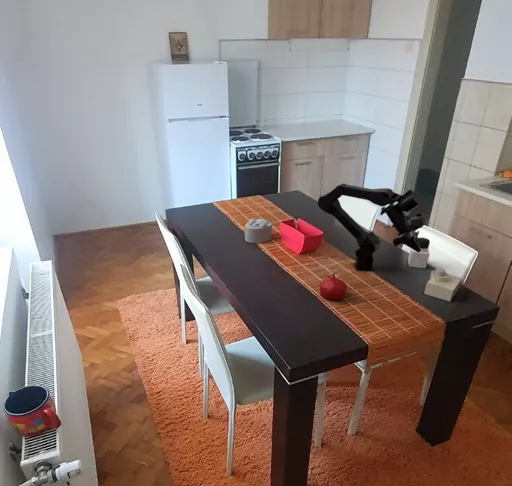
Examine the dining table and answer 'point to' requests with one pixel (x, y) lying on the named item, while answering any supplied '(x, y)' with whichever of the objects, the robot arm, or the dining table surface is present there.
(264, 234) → the lumpy-topped squat cylinder
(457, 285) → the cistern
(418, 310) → the dining table surface
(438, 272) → the flush button
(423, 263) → the medicine bottle
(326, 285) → the pomegranate
